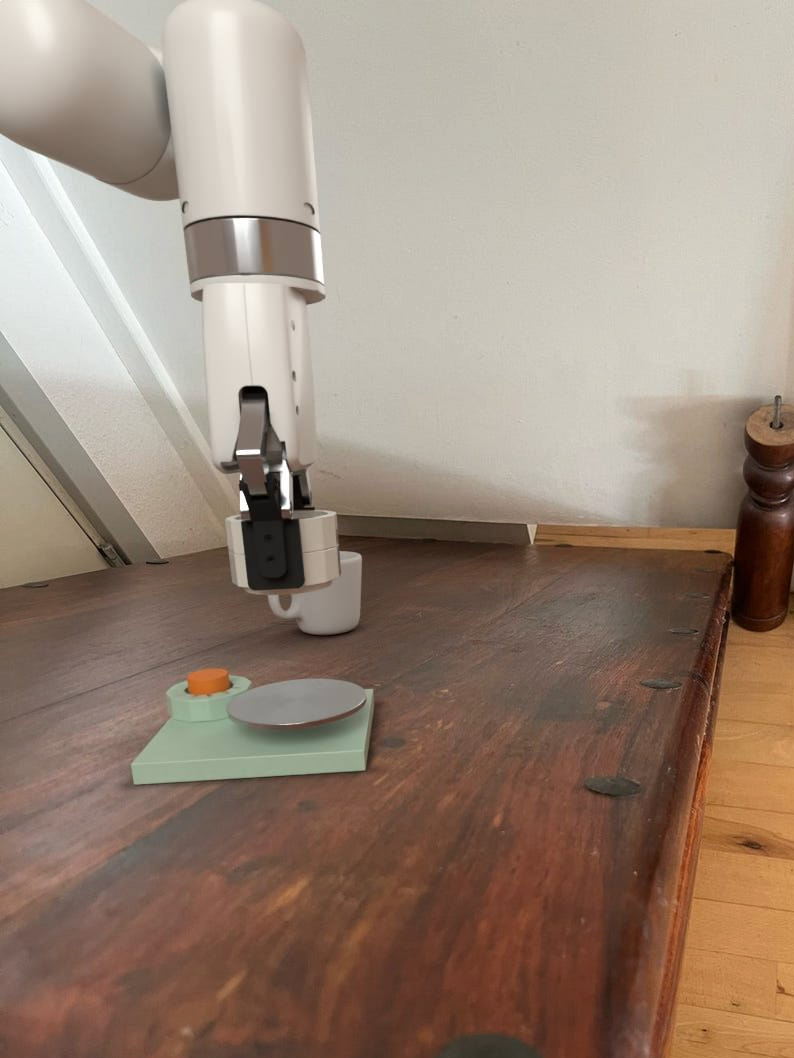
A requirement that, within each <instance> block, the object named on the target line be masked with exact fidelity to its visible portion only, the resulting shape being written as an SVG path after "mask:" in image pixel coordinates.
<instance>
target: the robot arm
mask: <svg viewBox="0 0 794 1058" xmlns="http://www.w3.org/2000/svg"><path fill="white" fill-rule="evenodd" d="M311 107H312V106H311V93H310V82H309V69H308V61H307V54H306V49H305V46H304V43H303V40H302V37H301V35H300V33H299V32H298V30H297V29H296V27H295V26H294V24H293V23H292V21H290V19H288V18H287V17H286V16H285V15H284V14H282V13H281V12H280V11H278V10H277V9H276V8H274V7H272V6H270V5H268V4H266V3H265V2H261V1H259V0H184V1H182V2H181V3H179V4H178V5H176V6H175V7H174V8H172V10H171V11H170V12H169V13H168V15H167V17H166V19H165V21H164V24H163V28H162V32H161V48H160V47H157V46H155V45H152V44H150V43H149V42H145V41H143V40H141V39H139V38H137V37H136V36H134V35H133V34H132V33H131V32H129V31H127V30H126V29H125V28H124V27H122V26H121V25H119V24H118V23H117V22H115V21H114V20H113V19H112V18H110V17H108V16H107V15H106V14H105V13H104V12H102V11H100V9H98V8H96V6H94V5H92V4H91V3H89V2H88V1H87V0H0V135H1V136H3V137H5V138H7V139H8V140H10V141H12V142H13V143H15V144H17V145H18V146H21V147H22V148H24V149H27V150H29V151H31V152H34V153H36V154H39V155H41V156H43V157H45V158H48V159H50V160H53V161H55V162H58V163H59V164H62V165H64V166H67V167H69V168H71V169H73V170H76V171H78V172H81V173H83V174H86V175H87V176H90V177H92V178H94V179H95V180H97V181H99V182H101V183H104V184H106V185H108V186H111V187H113V188H115V189H118V190H120V191H122V192H125V193H127V194H129V195H132V196H133V197H137V198H140V199H142V200H143V199H144V200H146V201H147V200H148V201H154V202H170V201H175V200H179V206H180V214H181V222H182V223H181V225H182V230H183V239H184V249H185V257H186V265H187V273H188V281H189V289H190V297H191V298H192V299H194V300H195V301H198V302H201V304H202V305H201V310H202V311H201V321H202V323H201V326H202V327H201V328H202V329H201V330H202V349H203V352H202V353H203V365H204V367H203V368H204V379H205V394H206V406H207V418H208V420H207V421H208V433H209V443H210V456H211V462H212V465H213V466H214V467H215V469H216V470H218V471H219V472H220V473H222V474H223V475H231V474H232V475H233V474H237V473H239V480H238V482H239V483H238V489H239V511H240V515H241V518H242V521H241V527H242V536H243V545H244V554H245V563H246V572H247V581H248V586H249V588H250V589H252V590H275V589H296V588H300V587H302V586H303V584H304V582H305V577H304V566H303V555H302V544H301V533H300V522H299V518H297V519H293V510H316V506H313V491H312V485H311V479H310V473H309V467H311V466H312V465H314V463H315V462H316V461H317V457H318V443H317V442H318V439H317V438H318V437H317V417H316V401H315V387H314V385H315V384H314V374H313V362H312V353H311V352H312V350H311V340H310V339H311V337H310V329H309V328H310V327H309V318H308V308H307V306H309V305H313V304H317V303H321V302H322V301H323V300H325V299H326V288H325V273H324V272H325V271H324V259H323V248H322V237H321V234H322V233H321V222H320V221H321V220H320V211H319V209H320V208H319V195H318V184H317V183H318V182H317V172H316V171H317V170H316V169H317V168H316V160H315V159H316V157H315V156H316V155H315V145H314V131H313V120H312V119H313V118H312V108H311Z"/></svg>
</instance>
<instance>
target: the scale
mask: <svg viewBox="0 0 794 1058" xmlns="http://www.w3.org/2000/svg"><path fill="white" fill-rule="evenodd" d="M228 676H229V684H230V689H228V690H226V691H224V692H219V693H214V694H209V695H192V694H189V690H188V682H187V679H186V680H184V681H182V682H179V683H175V684H173V685H172V686H170V687H169V688H168V690H167V691H166V692H165V699H166V706H167V714H168V715H169V717H170V718H168V720H167V721H166V722H165V723H164V725H163V726H162V727H161V728H160V729H159V730H158V732H157V733H155V735H154V736H153V737H152V739H151V740H150V741H149V742H148V743H147V744H146V746H145V747H144V748H143V749H142V750H141V751H140V753H139V754H138V755H137V756H136V757H135V758H134V759H133V761H132V762H131V763H130V769H131V775H132V782H133V785H135V786H136V785H153V784H169V783H170V784H171V783H189V782H205V781H219V780H220V781H221V780H235V779H250V778H251V779H252V778H269V777H282V776H283V777H284V776H302V775H318V774H331V773H333V774H334V773H347V772H348V773H349V772H350V773H351V772H363V771H366V769H367V763H368V762H367V761H368V755H369V748H370V740H371V734H372V733H371V732H372V725H373V718H374V710H375V695H374V693H375V692H374V688H363V689H364V690H365V692H366V703H365V705H364V706H363V708H361V709H360V710H359V711H358V712H356V713H355V714H353V715H351V716H349V717H346V718H344V719H341V720H338V721H335V722H332V723H328V724H324V725H320V726H315V727H309V728H302V729H292V730H262V729H254V728H248V727H244V726H241V725H238V724H236V723H234V722H232V721H231V720H230V719H229V718H228V715H227V705H228V703H229V702H230V701H231V700H232V699H233V698H235V697H236V696H238V695H240V694H242V693H244V692H246V691H248V690H251V689H253V683H252V681H251V680H250V679H248V678H247V677H245V676H238V675H232V674H228Z"/></svg>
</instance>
